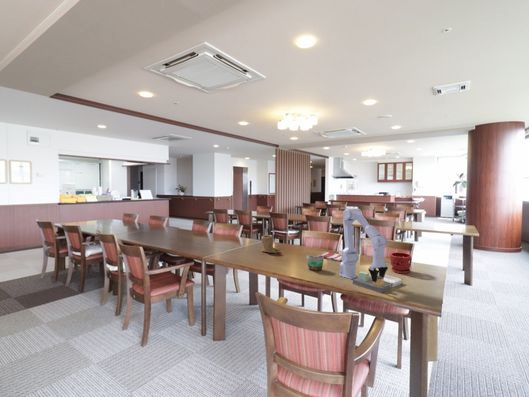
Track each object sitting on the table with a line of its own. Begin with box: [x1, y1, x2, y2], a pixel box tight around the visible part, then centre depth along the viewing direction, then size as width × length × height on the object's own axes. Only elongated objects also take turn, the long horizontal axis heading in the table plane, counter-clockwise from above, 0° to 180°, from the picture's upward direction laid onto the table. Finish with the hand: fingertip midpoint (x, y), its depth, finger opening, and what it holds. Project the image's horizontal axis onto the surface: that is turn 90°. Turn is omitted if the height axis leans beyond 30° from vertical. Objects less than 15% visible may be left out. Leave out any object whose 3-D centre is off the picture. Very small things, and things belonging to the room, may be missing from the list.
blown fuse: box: [372, 276, 384, 286], centre depth 161 cm, size 5×3×7 cm, turn 38°
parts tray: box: [369, 273, 403, 288], centre depth 172 cm, size 16×12×2 cm
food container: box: [306, 254, 325, 272], centre depth 194 cm, size 12×6×10 cm, turn 82°
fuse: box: [358, 270, 370, 282], centre depth 168 cm, size 5×3×7 cm, turn 38°
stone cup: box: [261, 234, 281, 254], centre depth 245 cm, size 15×12×15 cm
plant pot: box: [389, 251, 412, 275], centre depth 192 cm, size 13×13×12 cm
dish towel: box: [317, 251, 342, 263], centre depth 228 cm, size 17×23×3 cm
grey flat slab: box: [352, 277, 390, 294], centre depth 165 cm, size 18×9×2 cm, turn 38°
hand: (378, 280), depth 161 cm, fingers open, 7 cm apart
